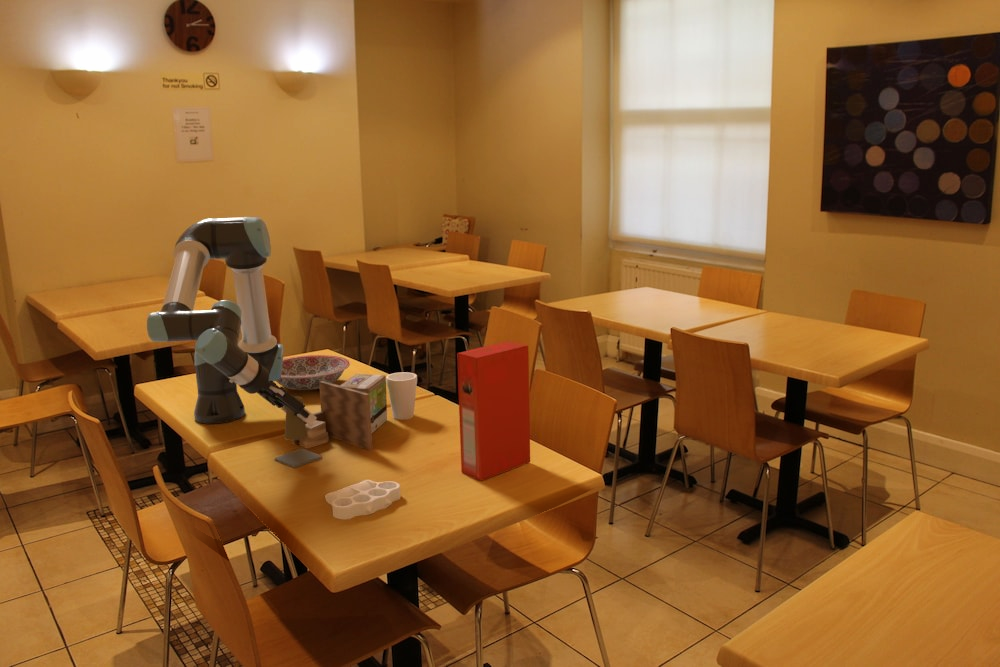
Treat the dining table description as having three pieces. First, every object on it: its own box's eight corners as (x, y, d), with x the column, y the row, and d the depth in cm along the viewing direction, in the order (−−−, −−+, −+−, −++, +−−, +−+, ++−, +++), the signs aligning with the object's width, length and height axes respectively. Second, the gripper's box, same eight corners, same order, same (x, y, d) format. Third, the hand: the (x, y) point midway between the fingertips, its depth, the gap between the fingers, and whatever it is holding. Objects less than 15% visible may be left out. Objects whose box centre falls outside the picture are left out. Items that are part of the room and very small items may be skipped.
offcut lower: (299, 445, 234) (298, 435, 233) (320, 439, 239) (319, 429, 238) (307, 449, 231) (306, 439, 231) (328, 442, 236) (327, 432, 236)
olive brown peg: (287, 441, 217) (284, 401, 215) (282, 434, 223) (279, 396, 220) (310, 437, 220) (307, 398, 218) (304, 431, 225) (301, 392, 223)
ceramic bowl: (367, 380, 297) (366, 359, 295) (318, 403, 271) (316, 380, 269) (301, 372, 308) (299, 352, 307) (248, 394, 283) (246, 372, 281)
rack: (293, 443, 235) (288, 390, 231) (326, 432, 243) (322, 380, 240) (339, 461, 221) (335, 404, 218) (372, 448, 230) (369, 394, 226)
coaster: (274, 459, 223) (274, 457, 223) (302, 450, 230) (302, 448, 229) (294, 467, 217) (294, 465, 217) (322, 457, 224) (321, 455, 224)
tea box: (371, 436, 240) (368, 388, 236) (339, 434, 242) (335, 386, 238) (388, 419, 254) (386, 373, 251) (357, 418, 256) (354, 372, 253)
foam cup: (382, 419, 254) (380, 379, 251) (397, 410, 263) (395, 371, 260) (409, 422, 251) (407, 381, 248) (423, 413, 259) (422, 373, 256)
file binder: (460, 472, 212) (457, 352, 205) (509, 455, 224) (507, 340, 216) (481, 481, 206) (478, 358, 199) (530, 463, 218) (529, 345, 211)
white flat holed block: (375, 485, 207) (412, 502, 196) (314, 508, 194) (349, 527, 184) (375, 472, 206) (412, 489, 196) (313, 494, 193) (349, 513, 183)
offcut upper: (301, 436, 233) (300, 426, 232) (315, 429, 238) (314, 420, 237) (311, 438, 231) (311, 428, 230) (326, 431, 236) (325, 422, 235)
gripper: (220, 380, 212) (279, 424, 228) (260, 392, 200) (320, 438, 216) (236, 356, 215) (294, 401, 231) (277, 367, 203) (335, 414, 219)
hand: (306, 419), depth 223 cm, fingers closed on olive brown peg, 5 cm apart
